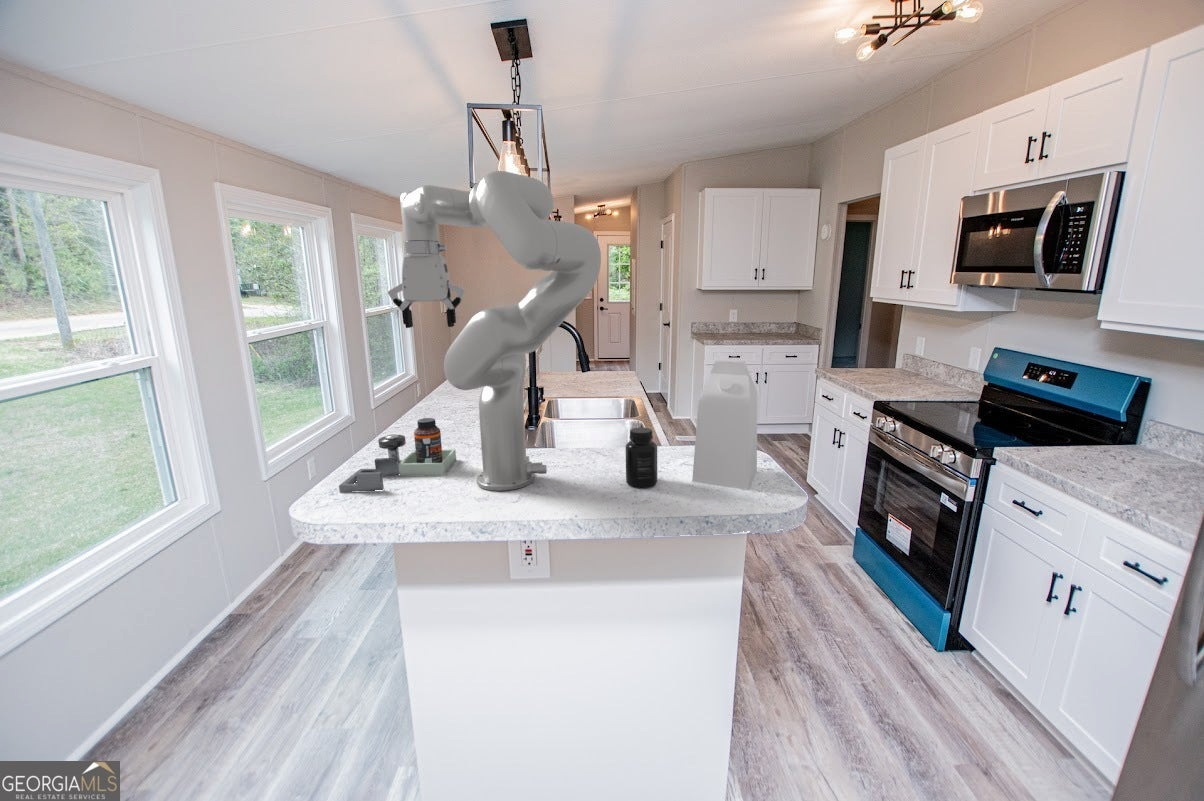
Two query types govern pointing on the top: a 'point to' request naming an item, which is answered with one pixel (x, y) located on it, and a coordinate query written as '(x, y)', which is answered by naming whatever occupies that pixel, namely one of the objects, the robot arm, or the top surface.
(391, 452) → the pulley
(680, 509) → the top surface
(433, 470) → the tray
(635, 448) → the supplement bottle
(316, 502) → the top surface
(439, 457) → the supplement bottle
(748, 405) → the milk
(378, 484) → the bracket
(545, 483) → the top surface
